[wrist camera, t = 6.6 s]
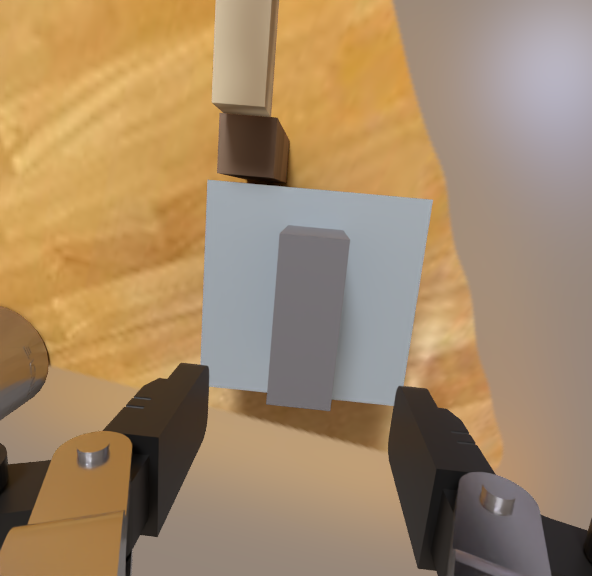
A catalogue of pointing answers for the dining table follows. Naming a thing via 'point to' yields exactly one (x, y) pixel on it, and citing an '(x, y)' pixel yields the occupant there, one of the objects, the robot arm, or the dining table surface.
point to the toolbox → (252, 148)
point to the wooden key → (244, 56)
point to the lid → (310, 292)
